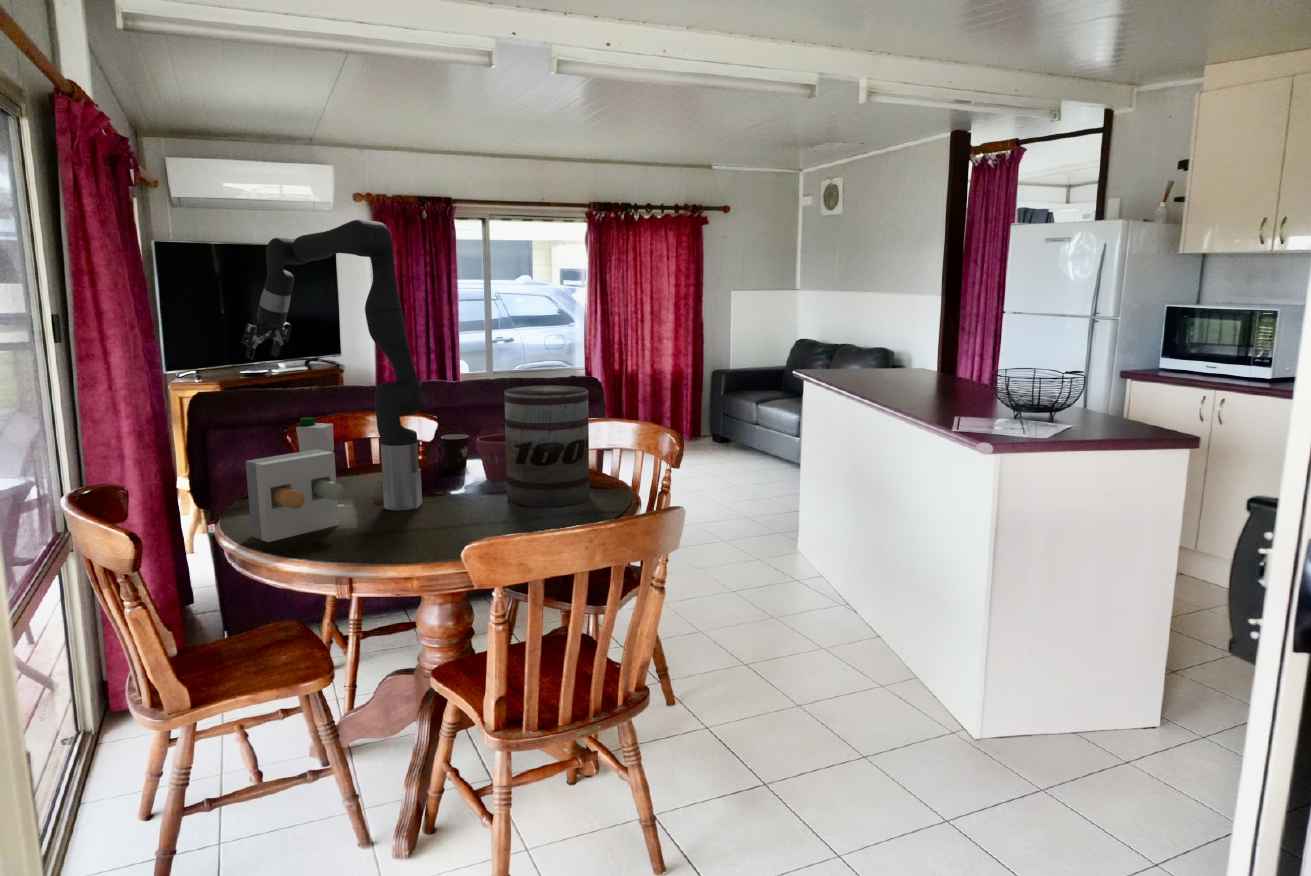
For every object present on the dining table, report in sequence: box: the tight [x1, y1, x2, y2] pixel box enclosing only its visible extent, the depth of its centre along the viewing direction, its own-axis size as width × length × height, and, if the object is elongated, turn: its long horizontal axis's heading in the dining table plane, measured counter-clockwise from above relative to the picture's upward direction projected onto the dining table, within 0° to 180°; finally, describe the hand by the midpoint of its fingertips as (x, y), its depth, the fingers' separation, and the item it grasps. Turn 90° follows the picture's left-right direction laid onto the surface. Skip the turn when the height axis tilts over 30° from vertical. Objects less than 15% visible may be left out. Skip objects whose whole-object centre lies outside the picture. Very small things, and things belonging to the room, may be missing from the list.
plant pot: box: [476, 433, 507, 483], centre depth 257 cm, size 14×14×13 cm
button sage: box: [314, 480, 345, 501], centre depth 201 cm, size 6×4×4 cm, turn 53°
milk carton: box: [295, 416, 335, 454], centre depth 247 cm, size 9×9×20 cm
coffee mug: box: [438, 433, 469, 470], centre depth 273 cm, size 12×9×10 cm
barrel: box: [503, 385, 590, 510], centre depth 232 cm, size 22×22×30 cm
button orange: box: [274, 488, 305, 509], centre depth 193 cm, size 6×4×4 cm, turn 53°
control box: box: [245, 449, 340, 543], centre depth 201 cm, size 7×18×18 cm, turn 143°
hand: (262, 356), depth 246 cm, fingers open, 8 cm apart
